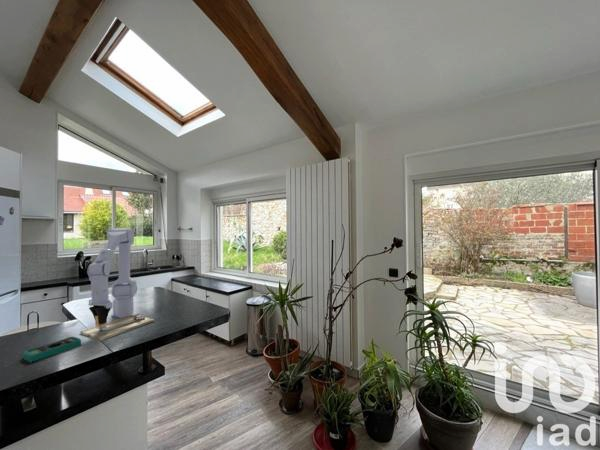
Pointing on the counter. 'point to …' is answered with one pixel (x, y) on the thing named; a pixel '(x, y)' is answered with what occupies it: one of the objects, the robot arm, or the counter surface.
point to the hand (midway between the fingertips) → (101, 323)
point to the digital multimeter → (51, 349)
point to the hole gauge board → (118, 327)
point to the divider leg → (100, 326)
